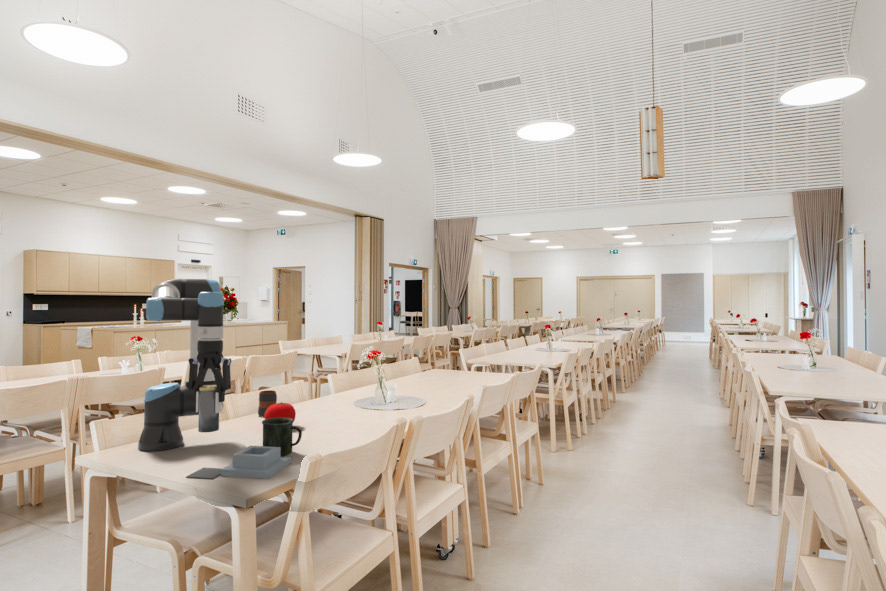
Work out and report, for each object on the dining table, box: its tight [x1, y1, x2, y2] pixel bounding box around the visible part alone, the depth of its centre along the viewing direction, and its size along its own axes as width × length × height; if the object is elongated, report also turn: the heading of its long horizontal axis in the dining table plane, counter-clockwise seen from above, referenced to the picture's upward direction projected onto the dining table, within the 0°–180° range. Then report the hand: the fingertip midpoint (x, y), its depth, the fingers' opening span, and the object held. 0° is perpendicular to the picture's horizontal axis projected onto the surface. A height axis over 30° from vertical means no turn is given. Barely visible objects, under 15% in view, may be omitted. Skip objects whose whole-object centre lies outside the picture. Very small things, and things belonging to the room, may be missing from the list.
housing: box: [220, 445, 292, 480], centre depth 169 cm, size 16×16×6 cm
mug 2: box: [257, 389, 278, 417], centre depth 252 cm, size 9×12×12 cm
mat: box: [185, 467, 222, 480], centre depth 164 cm, size 9×9×1 cm
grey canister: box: [197, 385, 220, 433], centre depth 164 cm, size 6×6×14 cm
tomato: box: [263, 401, 296, 421], centre depth 227 cm, size 12×13×11 cm
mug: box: [261, 418, 303, 457], centre depth 187 cm, size 11×15×12 cm
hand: (209, 411), depth 164 cm, fingers closed on grey canister, 6 cm apart
